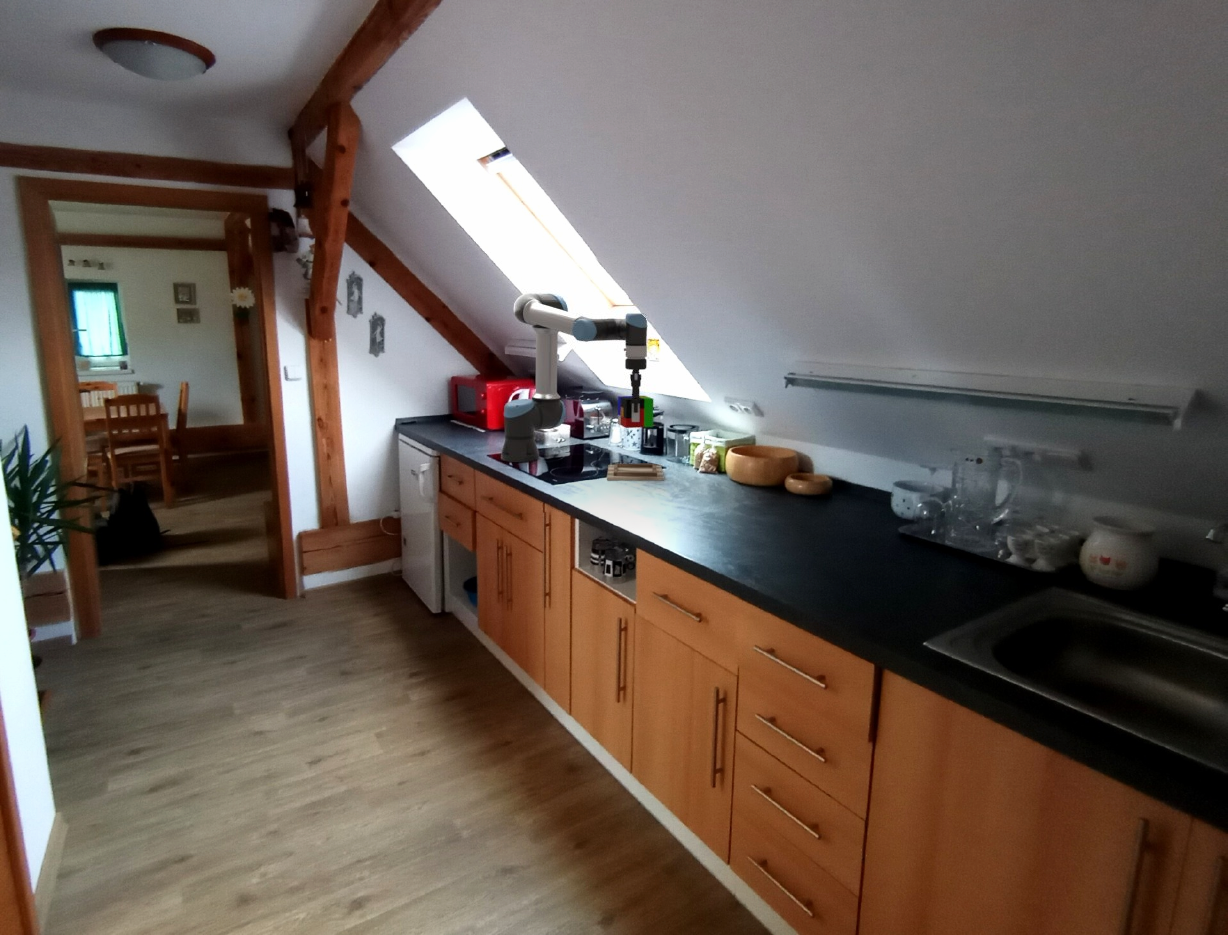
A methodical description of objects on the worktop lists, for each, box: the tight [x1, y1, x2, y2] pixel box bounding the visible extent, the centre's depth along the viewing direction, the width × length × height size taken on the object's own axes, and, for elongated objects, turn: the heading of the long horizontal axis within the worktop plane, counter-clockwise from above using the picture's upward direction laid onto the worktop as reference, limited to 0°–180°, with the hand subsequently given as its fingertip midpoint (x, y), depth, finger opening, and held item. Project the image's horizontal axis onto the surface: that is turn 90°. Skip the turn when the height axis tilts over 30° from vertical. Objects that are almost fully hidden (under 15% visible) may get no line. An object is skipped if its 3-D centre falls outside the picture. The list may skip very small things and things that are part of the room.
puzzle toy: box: [617, 395, 654, 429], centre depth 250 cm, size 10×10×10 cm
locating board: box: [606, 462, 665, 482], centre depth 255 cm, size 20×20×2 cm
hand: (635, 419), depth 251 cm, fingers closed on puzzle toy, 11 cm apart
